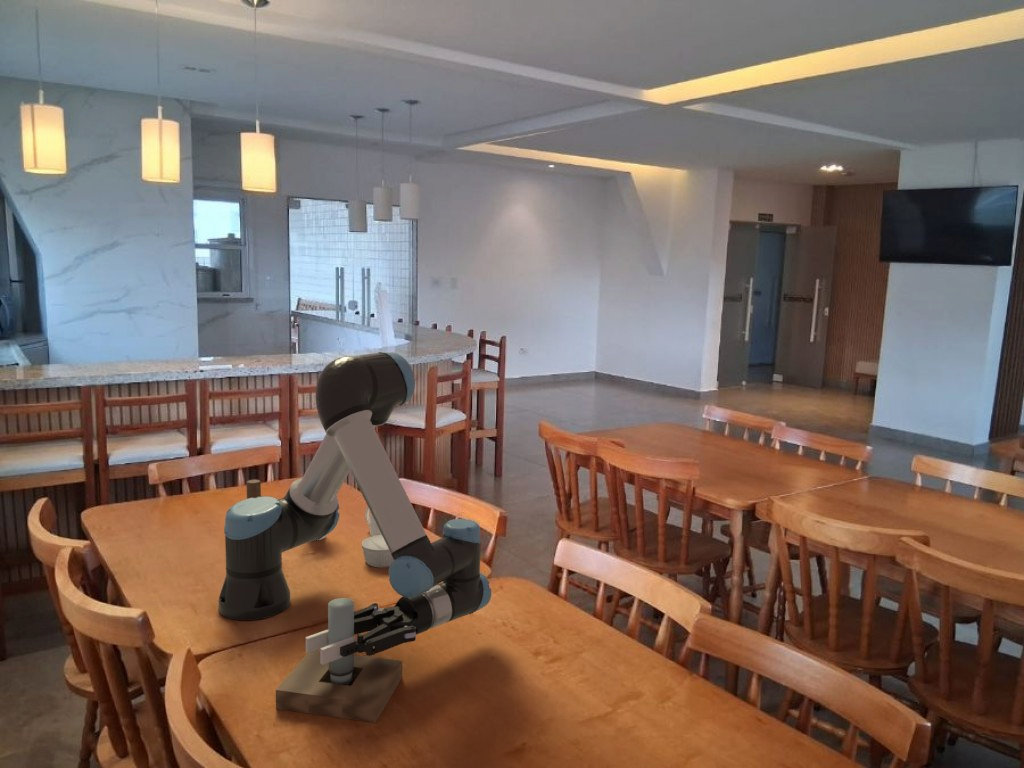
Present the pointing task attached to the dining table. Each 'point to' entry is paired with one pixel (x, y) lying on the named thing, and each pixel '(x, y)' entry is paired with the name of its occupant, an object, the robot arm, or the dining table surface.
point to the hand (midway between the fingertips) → (314, 650)
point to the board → (340, 688)
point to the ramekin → (377, 552)
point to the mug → (372, 523)
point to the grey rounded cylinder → (341, 638)
